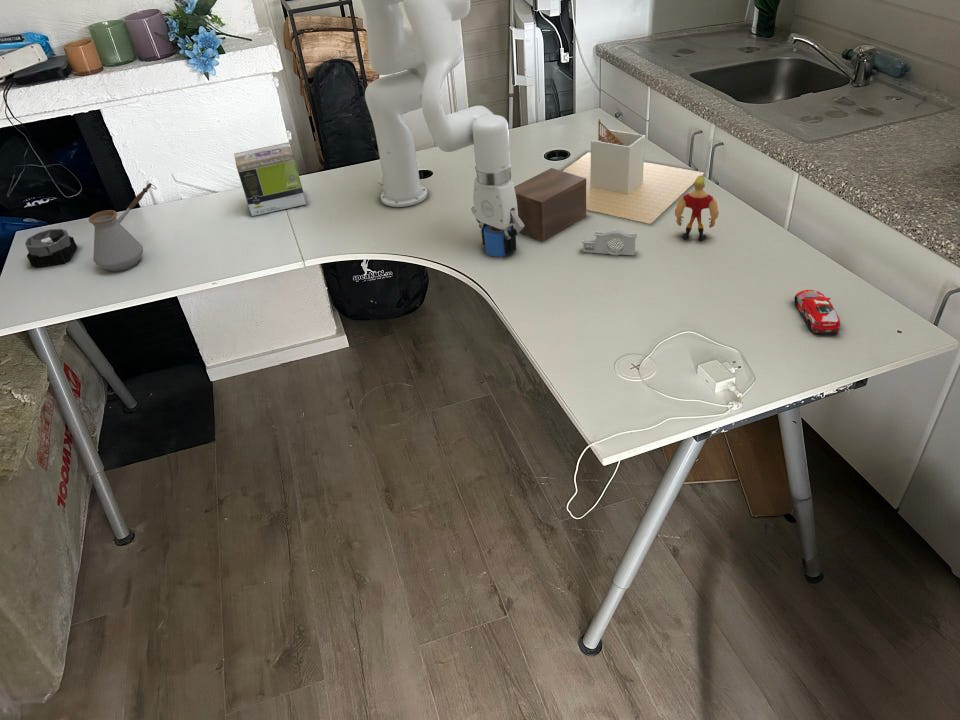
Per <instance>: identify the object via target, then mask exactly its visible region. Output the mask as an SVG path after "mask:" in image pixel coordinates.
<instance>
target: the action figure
mask: <svg viewBox="0 0 960 720" xmlns="http://www.w3.org/2000/svg"><path fill="white" fill-rule="evenodd" d="M705 187H706V184H705V178H704V176H703V175H702V176H698V177H697V178H696V180H695V182H694V183H693V188H694V190H692V191H691V192H689V193H686V194H683V196H682V197H679V198H678V201H677V204H676V207H675V209H674V216H675V218H676V224H677V225H678V227H682V225H683V224H682V223H683V220H682V219H685V217H684V216H683V213H684V210H685V208H689V209H691V215H690V219H689V222H688V223H687V224H686V227H685V232H683V233H682V235H681V237H682V238H683V239H684V240H686V241H688V240H690V233H691V230H692V229H693V224H694V222H695V220H696V221H697V225H698V226H697V231H698V241H699V242H702V241H704V240H705V239H707V235H706V234H705V233H704V225H703V222H702V211H703V210H705V209H706V210H707V209H708V210H709V216H710V217H709V218H708V220H709V224H708V228H709V229H711V228H713V227H714V226H715V225H716V220H717V219H718V217H719V214H720V212H719V208H718V207H719V206H718V202H717V200H716V199H715V198H714V197H713V196H712V195H711V194H709V193H707V192H705V190H704V188H705Z"/></svg>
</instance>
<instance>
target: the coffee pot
mask: <svg viewBox="0 0 960 720" xmlns="http://www.w3.org/2000/svg"><path fill="white" fill-rule="evenodd" d="M150 188H151V189H153V190H157V187H156V186H155V185H154V184H153V183H151V182H149V183H147V184H146V186H145V187H143V188H142V190H141V192H139V193H138V194H137V195H136V196H135V197H134V199H133V200H132V202H131V203H130V204H129V205H128V207H127V208H126V210H124V211H123V213H122V214H120V216H119V217H118V218H117V216H118V213H117V211H115V210H112V209H108V210H107V209H106V210H102V211H98V212H96V213H93V214H92V215H90V216H89V217H88V222H89V223H90V224H92V226H93V227H94V233H93V236H94V237H93V258H92V259H93V262H94V263H95V264H96V265H97V266H98V267H99V268H102V269H103V270H107V271H109V272H122V271H126V270H128V269H130V268H132V267H134V266H135V265H137V264H138V263H139V261H140V260H141V257H142V256H143V254H144V247H143V245H142V244H141V242H139V240H137V239H136V238H135V237H134V236H133V235H132V234H131V232H129V231H128V230H127V229H126V228H125V227H124V226H123V225H122V224H121V223H122V222H123V220H124V219H125V218H126V216H128V214H129V213H130V211H132V210H133V209H134V208H135V207H136V205H138V203H140V201H141V200H142V199H143V197H144V196H145V194H146V193H148V191H149V189H150Z"/></svg>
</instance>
